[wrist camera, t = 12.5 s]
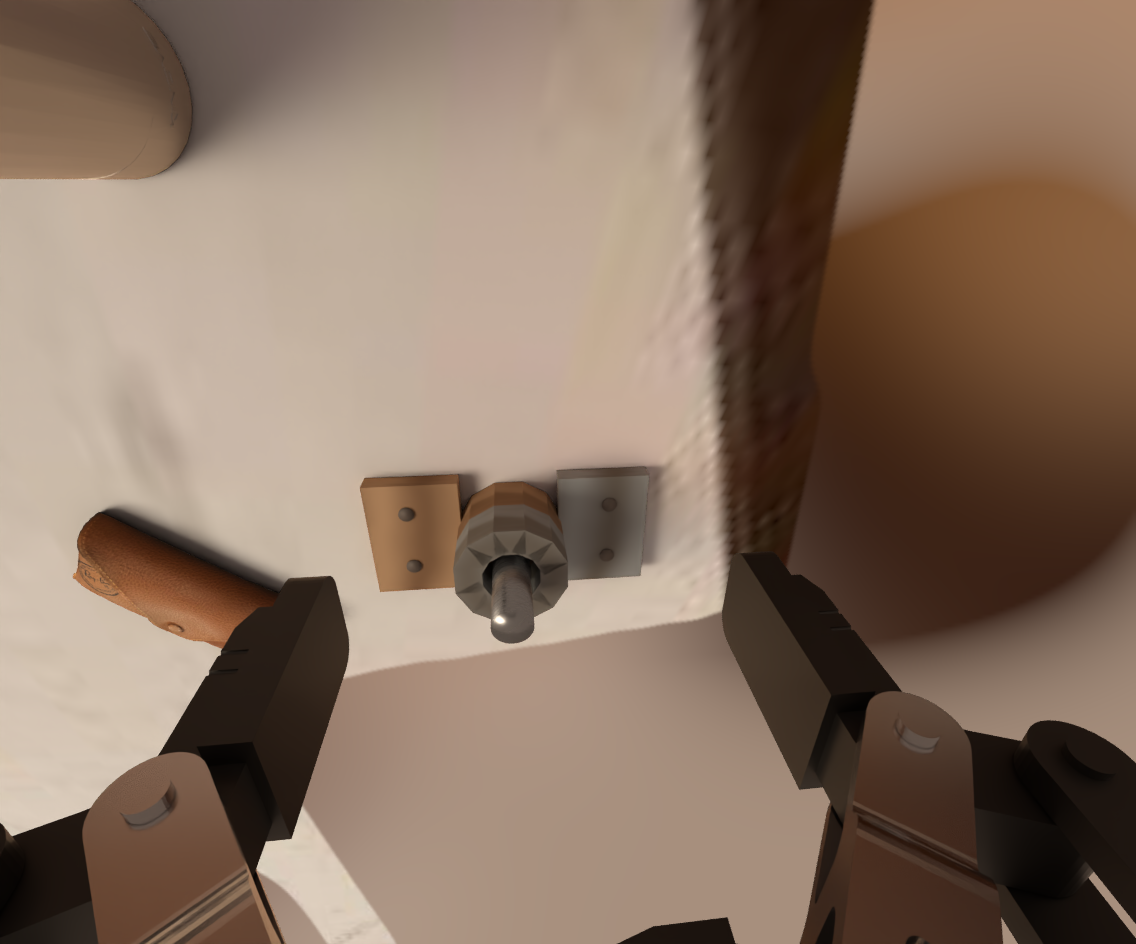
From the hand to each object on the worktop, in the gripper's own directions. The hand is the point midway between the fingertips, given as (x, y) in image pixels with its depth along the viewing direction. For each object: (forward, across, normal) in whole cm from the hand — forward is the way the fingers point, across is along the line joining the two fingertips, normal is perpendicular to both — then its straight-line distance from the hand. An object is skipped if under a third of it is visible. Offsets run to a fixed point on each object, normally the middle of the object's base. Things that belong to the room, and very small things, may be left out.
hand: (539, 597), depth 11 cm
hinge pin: (+30, +1, +18) cm, 35 cm away
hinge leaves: (+30, +1, +18) cm, 35 cm away
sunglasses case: (+31, +27, +23) cm, 47 cm away
